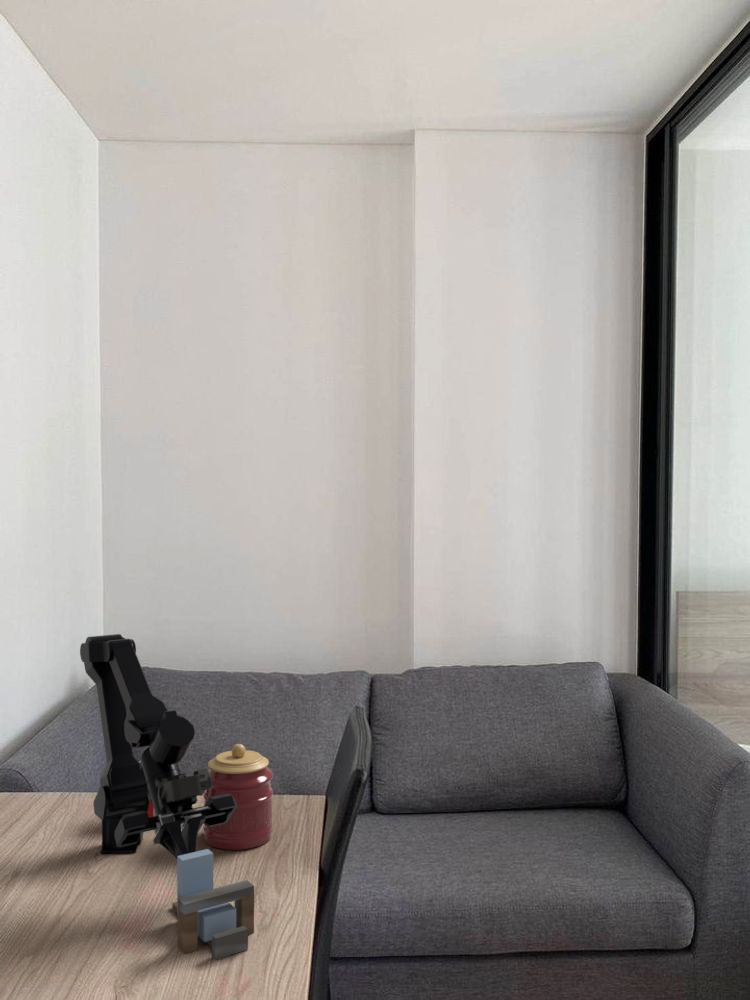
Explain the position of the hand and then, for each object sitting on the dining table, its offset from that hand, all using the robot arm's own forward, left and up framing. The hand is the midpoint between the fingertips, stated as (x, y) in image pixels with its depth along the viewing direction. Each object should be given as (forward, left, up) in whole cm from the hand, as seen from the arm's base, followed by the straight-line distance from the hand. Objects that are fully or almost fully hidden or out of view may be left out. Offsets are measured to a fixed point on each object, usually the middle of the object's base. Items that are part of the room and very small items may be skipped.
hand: (191, 870), depth 142 cm
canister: (+5, +31, -7) cm, 32 cm away
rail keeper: (+3, -4, -7) cm, 9 cm away
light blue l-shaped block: (+3, -5, -6) cm, 8 cm away
